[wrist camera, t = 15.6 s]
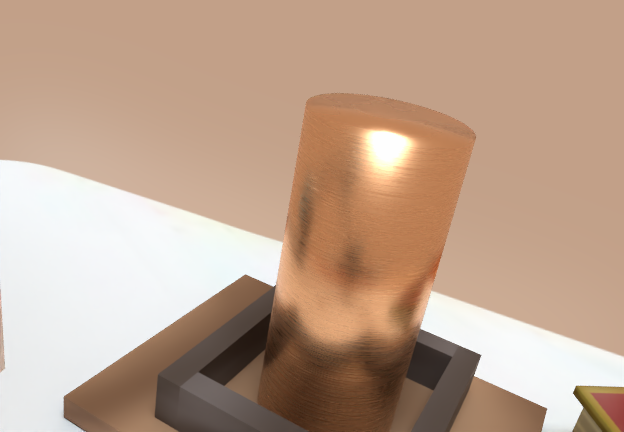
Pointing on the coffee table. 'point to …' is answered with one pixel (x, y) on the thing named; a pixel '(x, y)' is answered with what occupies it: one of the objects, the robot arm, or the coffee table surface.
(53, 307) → the coffee table surface
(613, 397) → the hardcover book
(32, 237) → the coffee table surface
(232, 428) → the duct base
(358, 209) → the brushed copper cylinder
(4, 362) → the robot arm
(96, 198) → the coffee table surface
